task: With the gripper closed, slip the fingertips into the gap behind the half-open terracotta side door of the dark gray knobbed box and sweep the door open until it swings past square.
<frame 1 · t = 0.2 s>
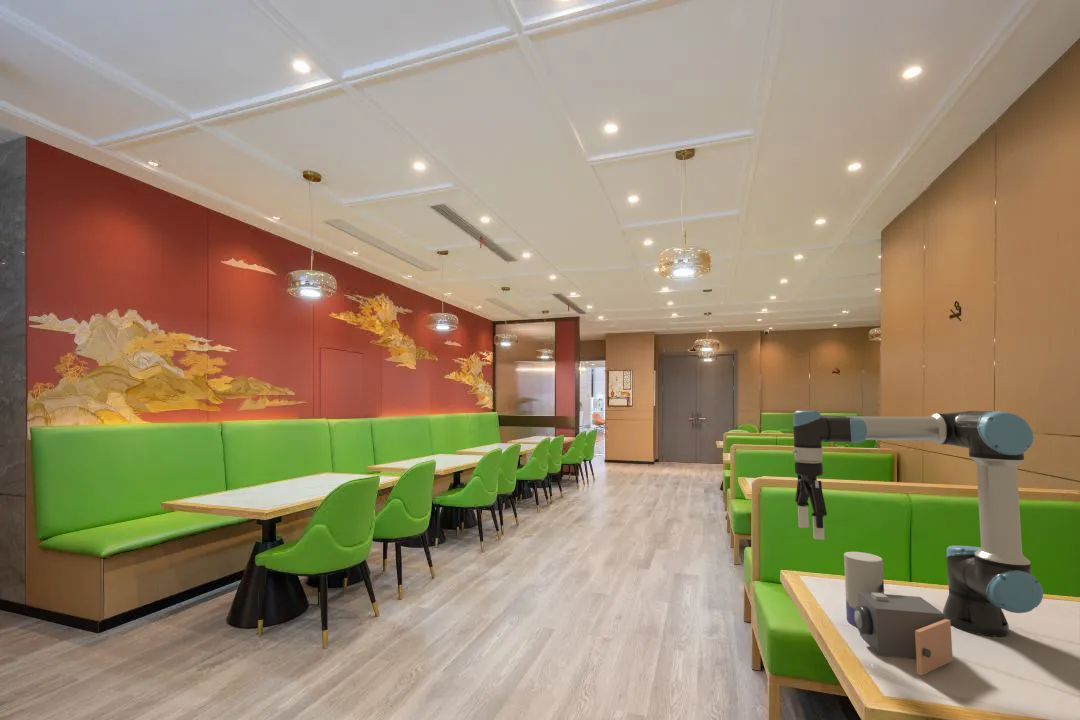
hand: (811, 533, 152), 28 cm above the table, tool pointing down, fingers open, 13 cm apart
side door: (936, 646, 126), point 6 cm above the table, hinge at 40.0°
container: (865, 624, 153), on the table
dark gray knobbed box: (901, 647, 138), on the table
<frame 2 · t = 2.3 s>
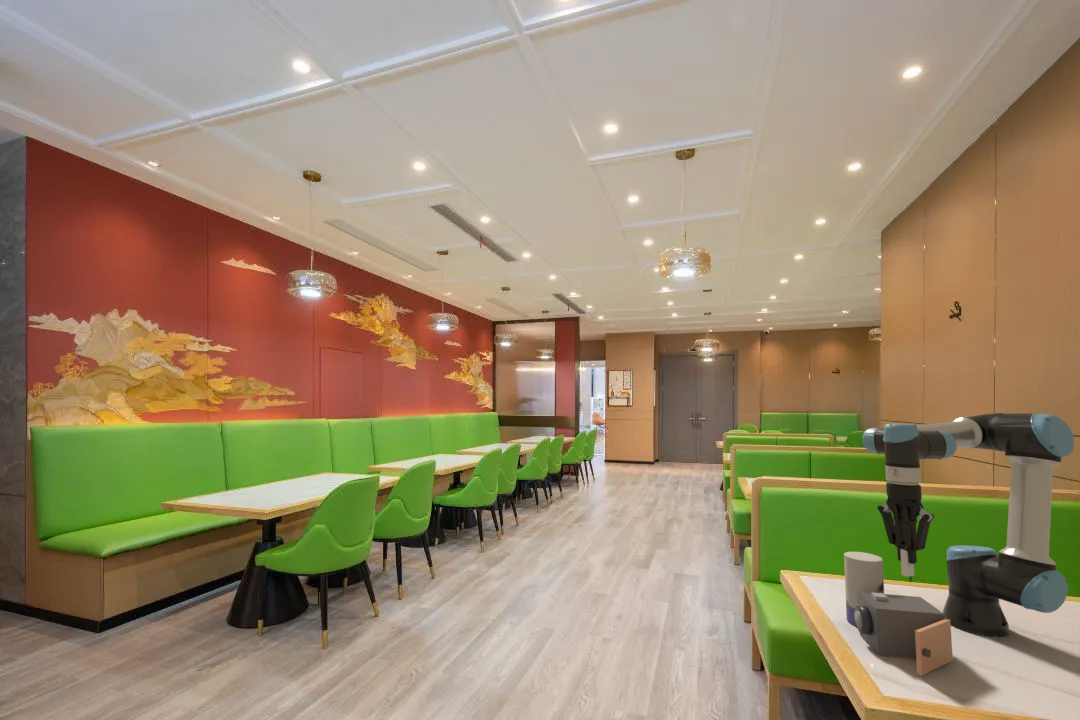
hand: (908, 575, 131), 22 cm above the table, tool pointing down, fingers closed
nothing on the table moved.
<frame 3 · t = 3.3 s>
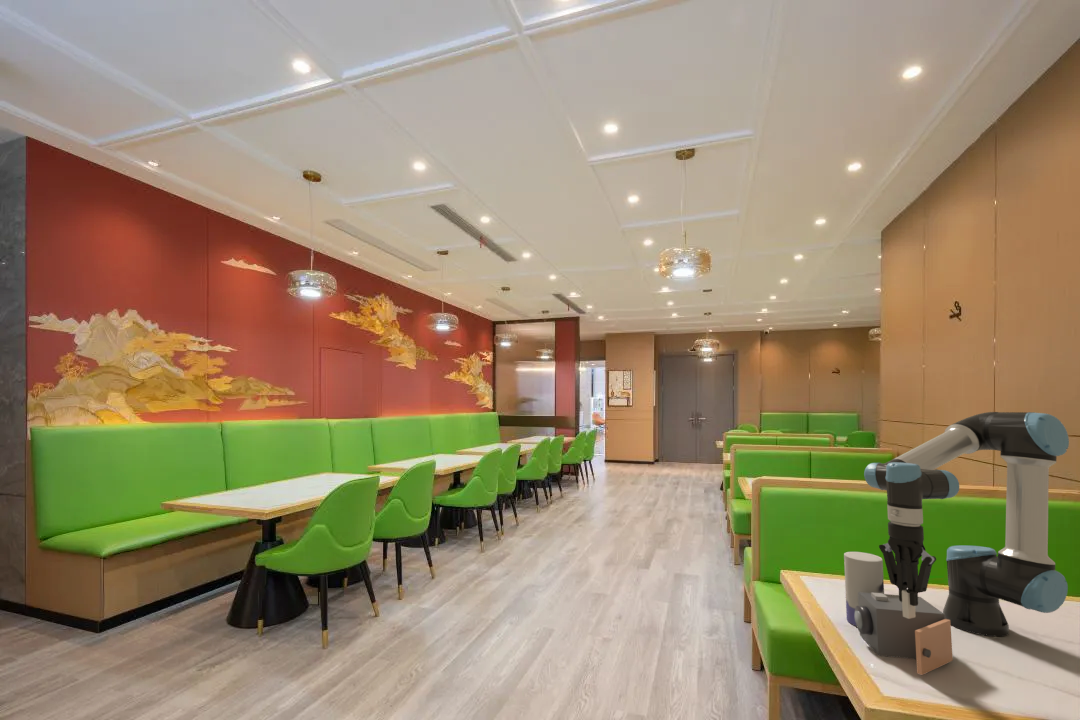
hand: (909, 616, 130), 12 cm above the table, tool pointing down, fingers closed
nothing on the table moved.
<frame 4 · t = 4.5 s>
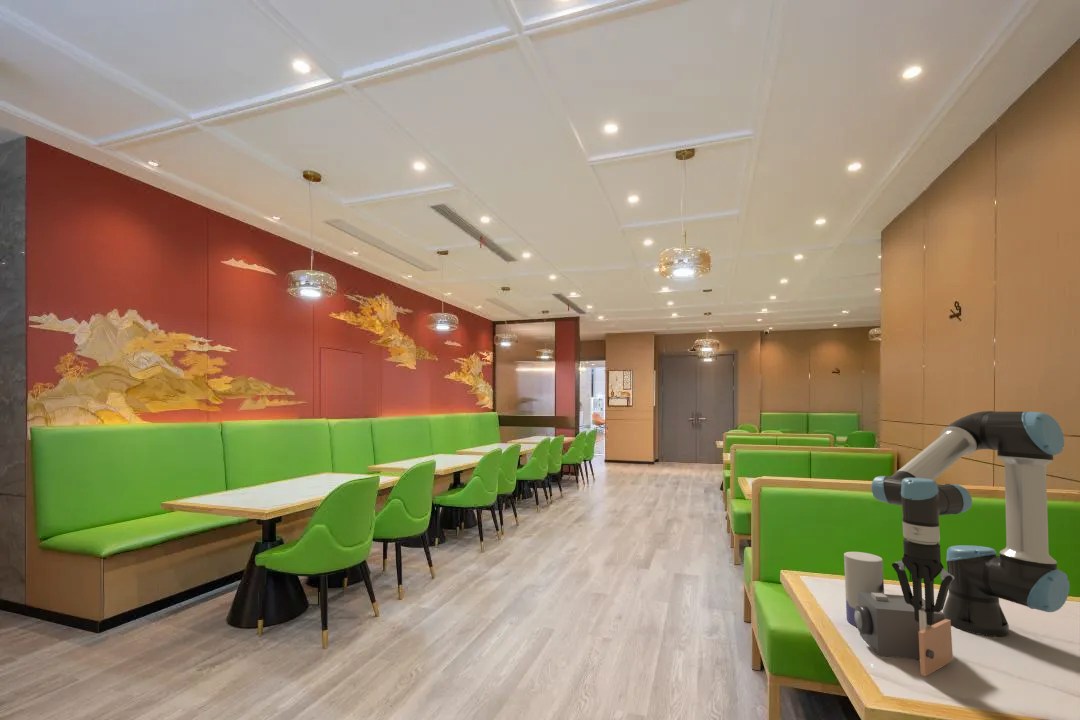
hand: (925, 636, 127), 8 cm above the table, tool pointing down, fingers closed
side door: (938, 647, 126), point 6 cm above the table, hinge at 42.8°, touching gripper
everything else where it was.
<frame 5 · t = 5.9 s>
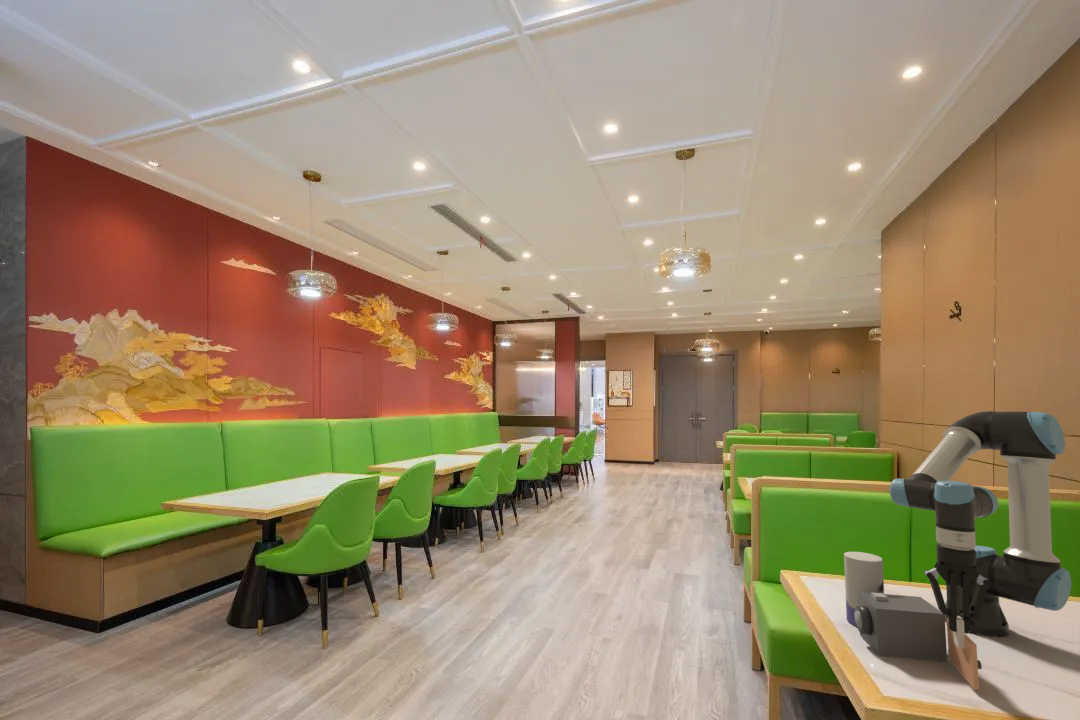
hand: (959, 645, 122), 8 cm above the table, tool pointing down, fingers closed
side door: (964, 652, 124), point 6 cm above the table, hinge at 80.5°, touching gripper
everything else where it was.
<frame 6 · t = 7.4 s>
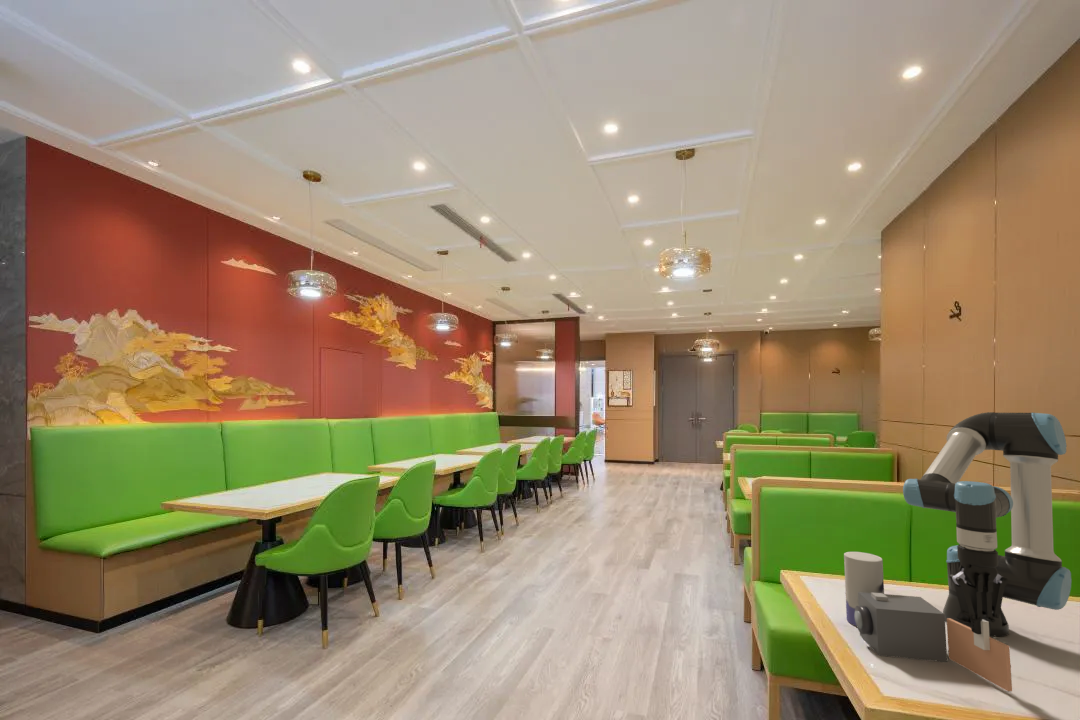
hand: (982, 647, 121), 8 cm above the table, tool pointing down, fingers closed
side door: (979, 652, 124), point 6 cm above the table, hinge at 108.1°, touching gripper
everything else where it was.
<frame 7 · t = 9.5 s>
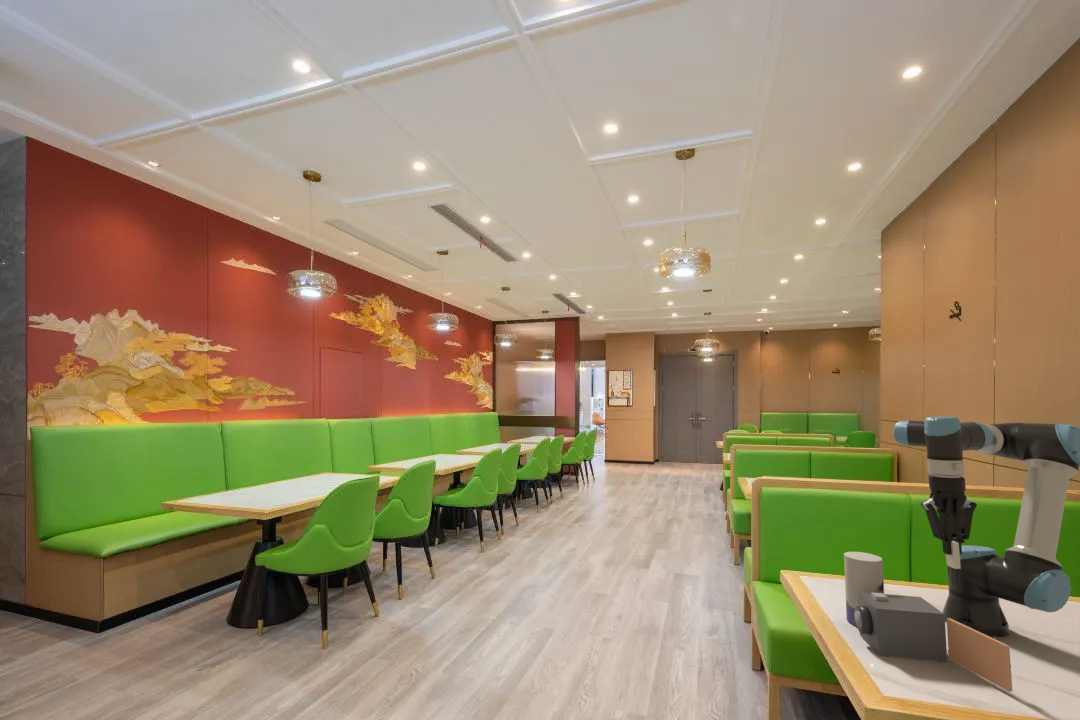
hand: (953, 566, 132), 24 cm above the table, tool pointing down, fingers closed
side door: (979, 652, 124), point 6 cm above the table, hinge at 108.3°
everything else where it was.
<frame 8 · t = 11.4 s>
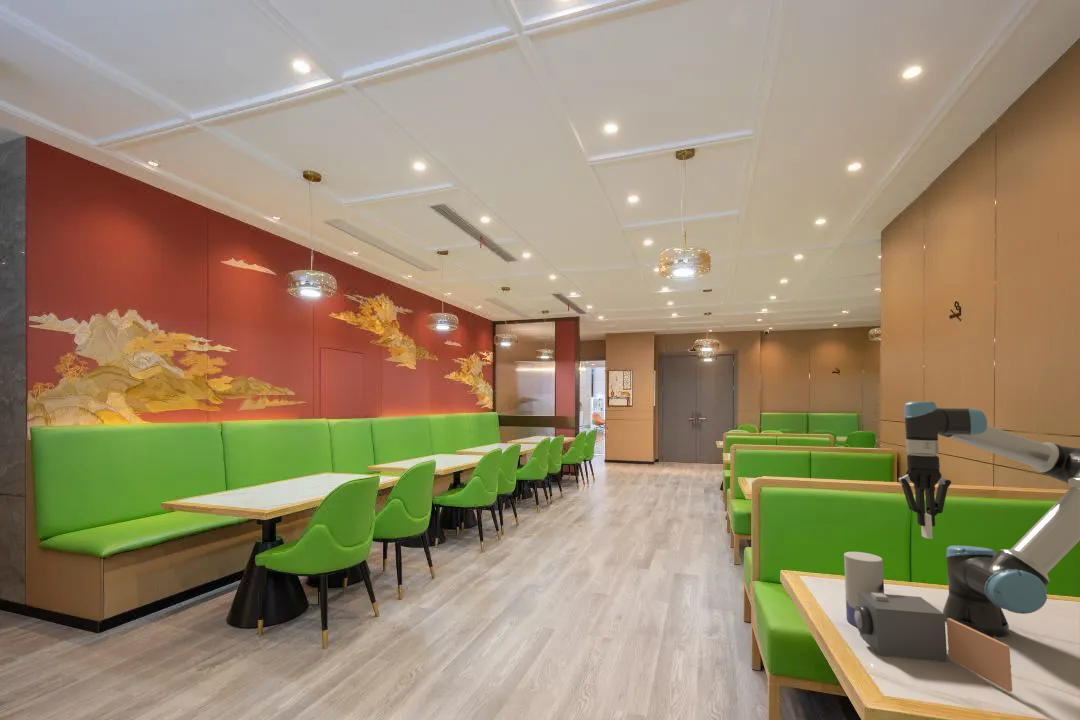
hand: (927, 537, 145), 28 cm above the table, tool pointing down, fingers closed
nothing on the table moved.
at the end: side door at +108° (first picture: +40°); container moved 0.2 cm from its start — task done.
